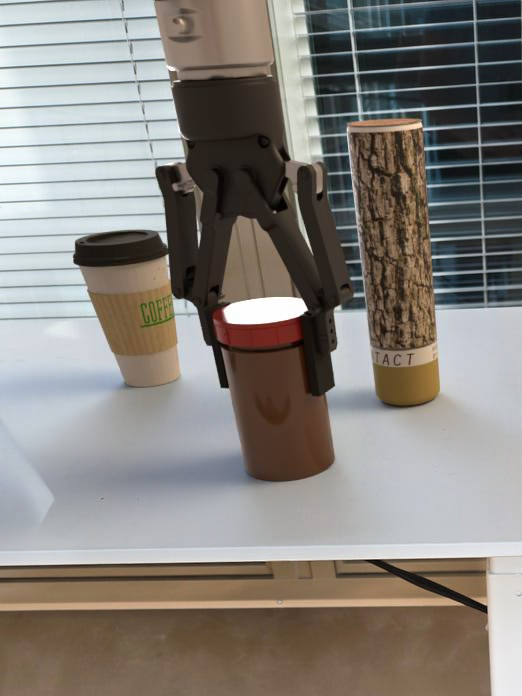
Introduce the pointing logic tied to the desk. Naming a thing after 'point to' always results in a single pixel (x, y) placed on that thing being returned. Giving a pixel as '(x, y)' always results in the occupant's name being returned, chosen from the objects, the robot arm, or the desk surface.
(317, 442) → the jar
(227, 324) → the lid
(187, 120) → the robot arm
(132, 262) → the coffee cup
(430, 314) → the paper tube
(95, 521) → the desk surface
